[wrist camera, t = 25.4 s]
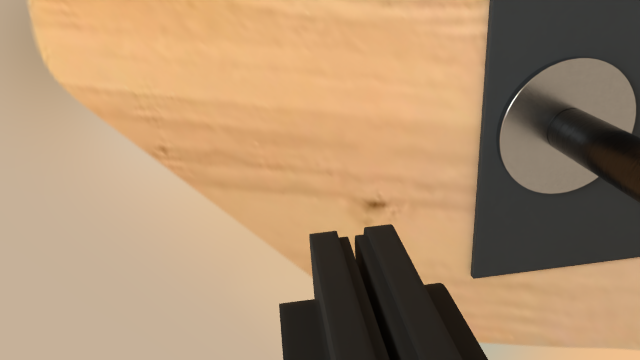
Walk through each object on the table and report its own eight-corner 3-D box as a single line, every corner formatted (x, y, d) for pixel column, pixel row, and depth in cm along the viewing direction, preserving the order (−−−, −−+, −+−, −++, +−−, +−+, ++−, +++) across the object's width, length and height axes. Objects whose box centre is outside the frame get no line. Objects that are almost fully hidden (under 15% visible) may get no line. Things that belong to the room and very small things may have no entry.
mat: (470, 275, 37) (473, 278, 37) (490, -17, 29) (494, -17, 28) (722, 242, 39) (727, 245, 38) (809, -43, 31) (818, -43, 30)
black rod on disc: (490, 197, 34) (572, 280, 25) (502, 62, 30) (602, 106, 22) (616, 182, 35) (737, 258, 26) (642, 49, 31) (794, 87, 22)
